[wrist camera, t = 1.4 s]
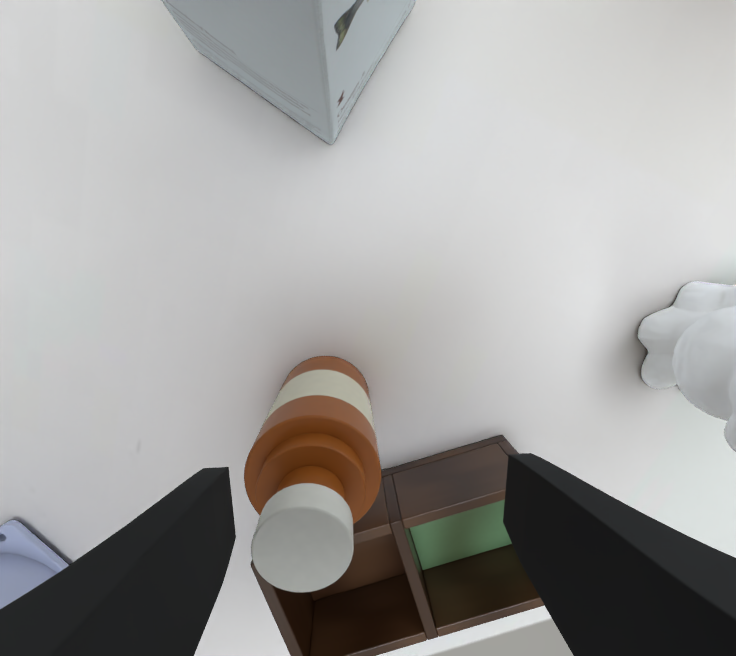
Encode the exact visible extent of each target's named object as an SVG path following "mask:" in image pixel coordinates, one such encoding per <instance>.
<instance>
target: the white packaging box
mask: <svg viewBox="0 0 736 656" xmlns="http://www.w3.org/2000/svg"><path fill="white" fill-rule="evenodd" d="M161 1H162V2H163V3H164V5H165V6H166V8H167V9H168V11H169V12H170V13H171V15H172V16H173V18H174V19H175V20H176V22H177V23H178V25H179V26H180V28H181V29H182V30H183V32H184V33H185V35H186V36H187V37H188V39H189V40H190V42H191V43H192V44H193V46H194V47H195V48H196V50H198V51H199V52H200V53H202V54H203V55H205V56H206V57H207V58H209V59H210V60H212V61H213V62H214V63H216V64H217V65H218V66H220V67H221V68H223V69H224V70H226V71H227V72H228V73H230V74H231V75H233V76H234V77H235V78H237V79H238V80H240V81H241V82H243V83H244V84H245V85H246V86H248V87H249V88H250V89H252V90H253V91H255V92H256V93H258V94H259V95H261V96H262V97H264V98H265V99H266V100H268V101H269V102H270V103H272V104H273V105H275V106H276V107H277V108H279V109H280V110H282V111H283V112H285V113H286V114H287V115H289V116H290V117H291V118H293V119H294V120H296V121H297V122H299V123H300V124H301V125H303V126H304V127H306V128H307V129H308V130H310V131H311V132H312V133H314V134H315V135H317V136H318V137H320V138H321V139H323V140H324V141H325V142H327V143H328V144H333V143H334V142H335V140H336V138H337V136H338V134H339V132H340V130H341V128H342V126H343V124H344V122H345V120H346V119H347V117H348V115H349V113H350V111H351V109H352V107H353V106H354V104H355V102H356V100H357V98H358V97H359V95H360V93H361V91H362V90H363V88H364V86H365V85H366V83H367V81H368V79H369V78H370V76H371V74H372V73H373V71H374V69H375V68H376V66H377V64H378V63H379V61H380V59H381V58H382V56H383V54H384V53H385V51H386V49H387V48H388V46H389V44H390V43H391V41H392V39H393V38H394V36H395V35H396V33H397V31H398V30H399V28H400V27H401V25H402V23H403V22H404V20H405V19H406V17H407V16H408V14H409V13H410V11H411V9H412V8H413V6H414V4H415V1H416V0H161Z"/></svg>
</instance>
